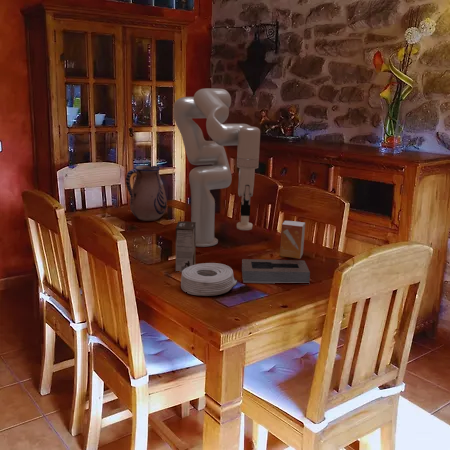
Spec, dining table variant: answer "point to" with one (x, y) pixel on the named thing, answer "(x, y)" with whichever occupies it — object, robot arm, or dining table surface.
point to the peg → (244, 223)
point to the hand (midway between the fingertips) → (245, 213)
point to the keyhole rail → (275, 271)
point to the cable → (207, 279)
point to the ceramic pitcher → (146, 193)
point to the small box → (292, 239)
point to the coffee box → (185, 245)
